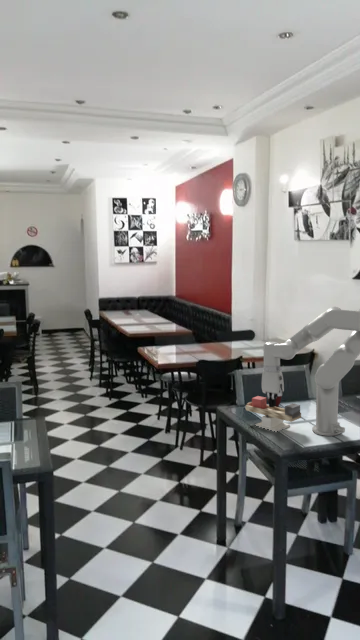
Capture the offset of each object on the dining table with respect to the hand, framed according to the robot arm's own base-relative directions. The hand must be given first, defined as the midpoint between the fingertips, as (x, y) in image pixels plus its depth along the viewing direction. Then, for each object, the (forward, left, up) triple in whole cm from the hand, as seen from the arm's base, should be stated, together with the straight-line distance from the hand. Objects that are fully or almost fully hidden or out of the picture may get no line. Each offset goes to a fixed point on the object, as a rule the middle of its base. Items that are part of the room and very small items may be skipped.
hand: (272, 406), depth 242 cm
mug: (+18, -26, -10) cm, 33 cm away
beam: (0, 0, -4) cm, 4 cm away
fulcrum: (0, 0, -10) cm, 10 cm away
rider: (+8, 0, -2) cm, 8 cm away
